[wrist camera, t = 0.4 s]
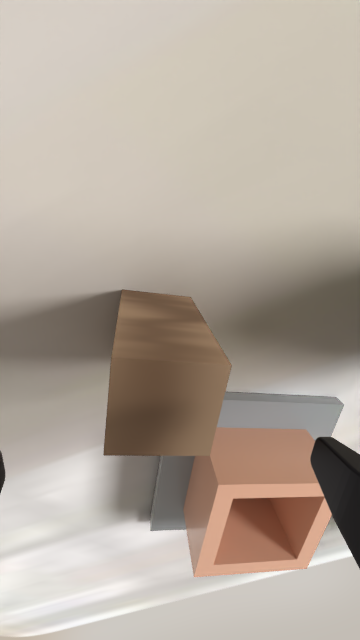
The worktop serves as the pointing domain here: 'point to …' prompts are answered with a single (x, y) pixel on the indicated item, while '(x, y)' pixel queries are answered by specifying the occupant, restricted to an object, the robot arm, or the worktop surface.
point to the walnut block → (163, 379)
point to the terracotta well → (250, 486)
